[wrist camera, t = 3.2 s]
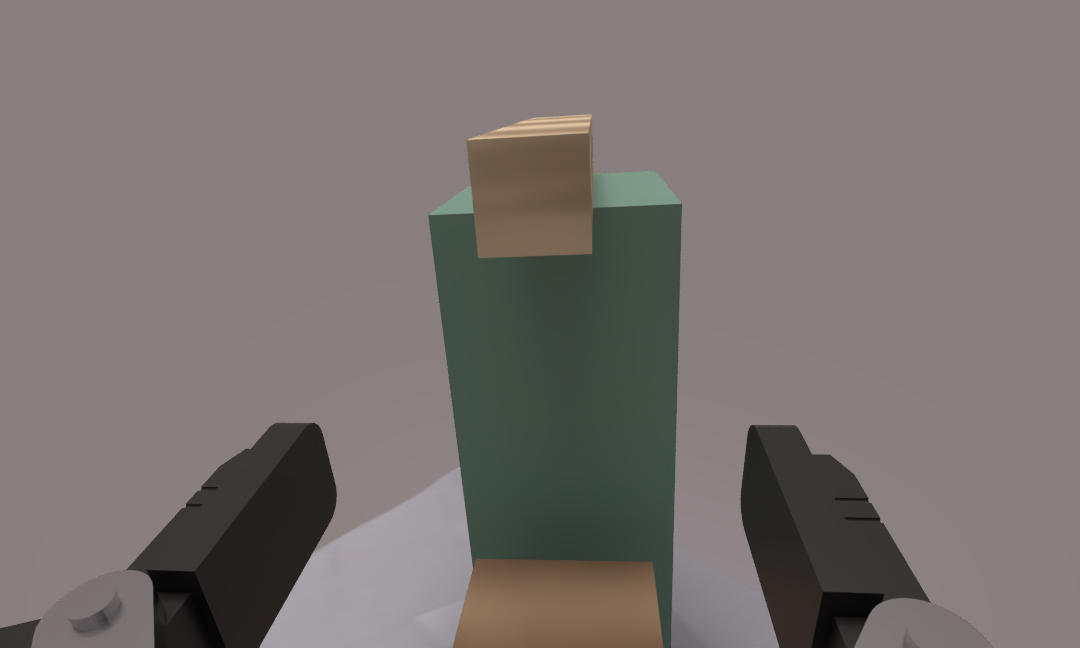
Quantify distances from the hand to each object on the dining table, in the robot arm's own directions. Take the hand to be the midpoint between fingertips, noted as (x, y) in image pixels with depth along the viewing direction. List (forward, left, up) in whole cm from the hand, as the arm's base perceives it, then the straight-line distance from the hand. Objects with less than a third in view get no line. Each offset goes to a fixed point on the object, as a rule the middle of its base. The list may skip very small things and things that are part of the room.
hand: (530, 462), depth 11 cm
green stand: (-15, -16, -34) cm, 41 cm away
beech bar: (-12, -13, +2) cm, 18 cm away
